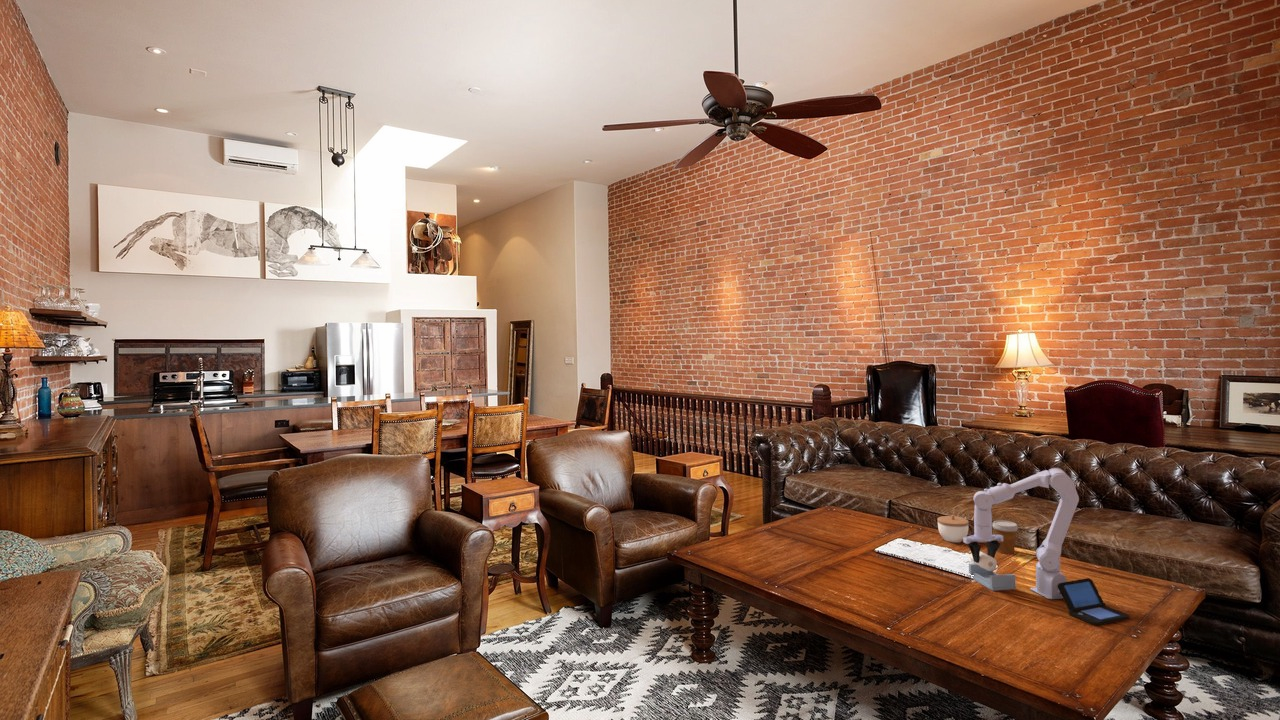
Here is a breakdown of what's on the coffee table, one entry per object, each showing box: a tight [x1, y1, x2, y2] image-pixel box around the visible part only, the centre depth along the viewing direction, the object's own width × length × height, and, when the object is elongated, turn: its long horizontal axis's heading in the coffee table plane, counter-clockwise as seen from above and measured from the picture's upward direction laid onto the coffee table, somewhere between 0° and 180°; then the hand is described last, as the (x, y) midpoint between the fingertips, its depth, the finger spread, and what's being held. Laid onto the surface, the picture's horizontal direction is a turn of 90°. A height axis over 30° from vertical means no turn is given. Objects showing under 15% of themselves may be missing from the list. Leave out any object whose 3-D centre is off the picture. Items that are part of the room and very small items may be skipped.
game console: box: [1058, 577, 1130, 626], centre depth 209 cm, size 16×14×9 cm
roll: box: [969, 550, 998, 572], centre depth 234 cm, size 8×5×5 cm, turn 6°
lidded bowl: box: [937, 514, 970, 543], centre depth 286 cm, size 13×13×11 cm
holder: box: [968, 562, 1017, 592], centre depth 237 cm, size 14×9×5 cm, turn 6°
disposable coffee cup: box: [992, 520, 1019, 555], centre depth 269 cm, size 10×10×12 cm
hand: (983, 561), depth 234 cm, fingers closed on roll, 5 cm apart
